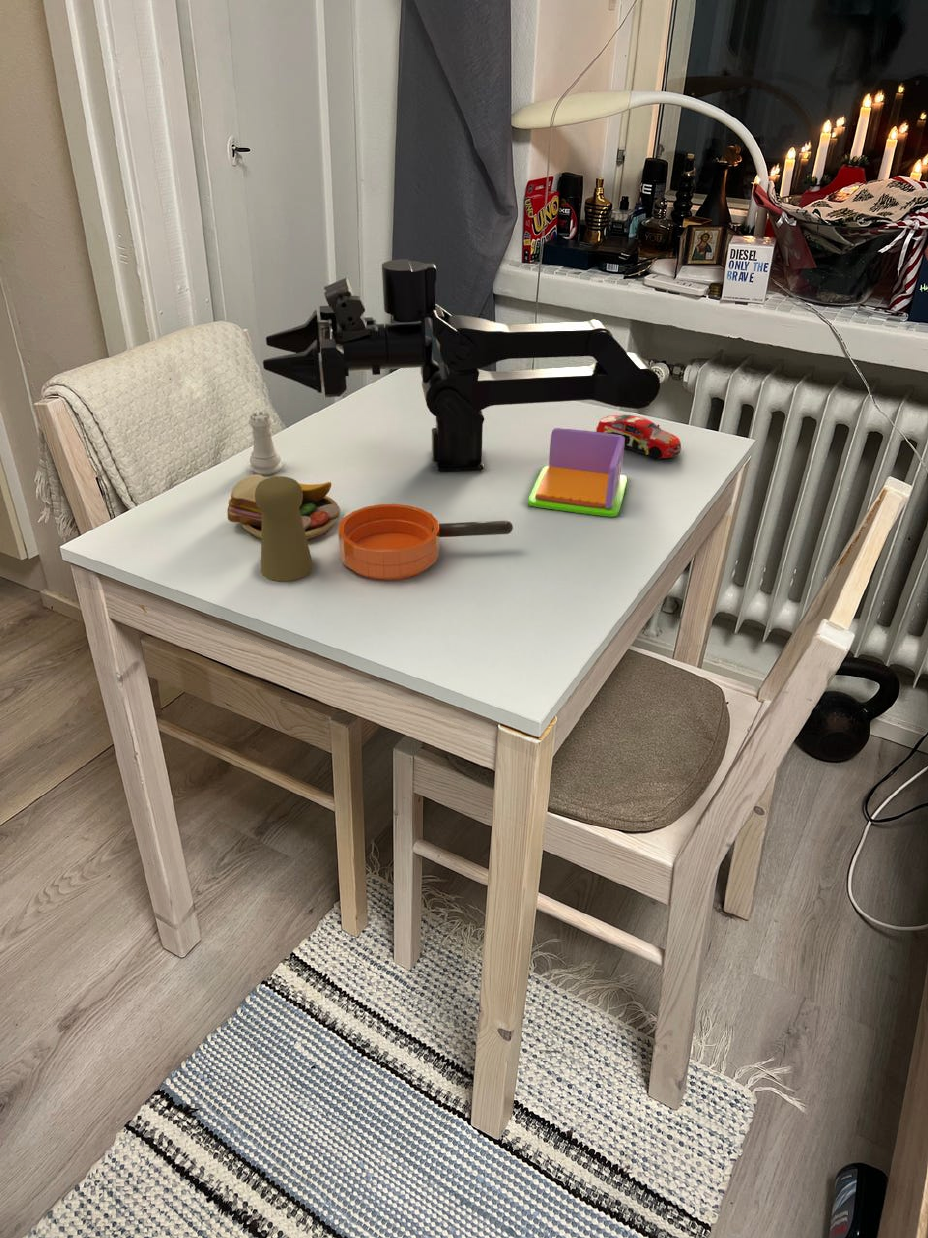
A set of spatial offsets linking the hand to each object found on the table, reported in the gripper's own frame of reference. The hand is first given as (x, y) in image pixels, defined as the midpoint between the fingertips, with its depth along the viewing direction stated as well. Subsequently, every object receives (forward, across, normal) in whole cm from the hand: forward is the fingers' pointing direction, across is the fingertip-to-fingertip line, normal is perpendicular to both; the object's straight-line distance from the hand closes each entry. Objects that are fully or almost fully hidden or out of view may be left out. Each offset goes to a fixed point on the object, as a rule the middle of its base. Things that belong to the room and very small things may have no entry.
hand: (264, 352), depth 118 cm
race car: (-52, -2, +18) cm, 55 cm away
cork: (-2, +27, +17) cm, 31 cm away
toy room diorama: (-40, +12, +17) cm, 45 cm away
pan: (-14, +25, +17) cm, 33 cm away
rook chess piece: (+2, 0, +17) cm, 17 cm away
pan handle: (-23, +26, +14) cm, 38 cm away
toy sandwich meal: (-1, +16, +17) cm, 23 cm away
